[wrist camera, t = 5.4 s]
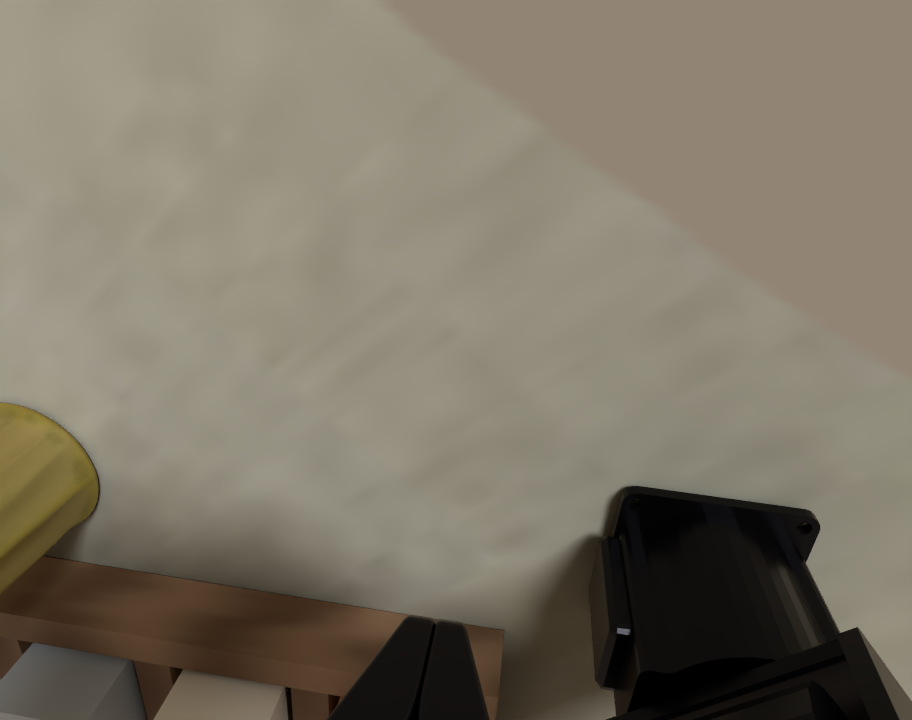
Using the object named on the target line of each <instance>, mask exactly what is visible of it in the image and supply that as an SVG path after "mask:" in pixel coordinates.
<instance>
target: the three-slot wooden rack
mask: <svg viewBox="0 0 912 720" xmlns="http://www.w3.org/2000/svg"><path fill="white" fill-rule="evenodd" d="M407 616H409V615H405V614H398V613H392V612H386V611H380V610H374V609H367V608H361V607H355V606H349V605H343V604H336V603H330V602H324V601H318V600H312V599H306V598H299V597H293V596H287V595H281V594H275V593H268V592H262V591H256V590H250V589H244V588H237V587H231V586H225V585H219V584H213V583H207V582H200V581H194V580H188V579H182V578H176V577H169V576H163V575H157V574H151V573H145V572H138V571H132V570H126V569H120V568H114V567H108V566H101V565H95V564H89V563H83V562H77V561H70V560H64V559H58V558H52V557H46V556H42V557H41V558H40V559H39V560H38V561H37V562H36V563H34V564H33V565H32V566H31V567H30V568H29V569H28V570H26V571H25V572H24V573H23V574H22V575H21V576H20V577H19V578H17V579H16V580H15V581H14V582H13V583H12V584H11V585H10V586H9V587H8V588H7V589H6V590H5V591H4V592H3V593H2V594H1V595H0V679H2V678H3V677H4V676H5V675H6V674H7V672H8V671H9V670H10V669H11V668H12V667H13V666H14V664H15V663H16V662H17V661H18V660H19V659H20V657H21V656H22V655H23V654H24V653H25V652H26V651H27V649H28V648H29V647H30V646H31V645H32V644H33V643H38V644H43V645H49V646H55V647H61V648H66V649H72V650H78V651H83V652H89V653H95V654H101V655H106V656H112V657H118V658H124V659H129V660H133V661H134V665H135V667H134V669H135V673H136V677H137V682H138V686H139V690H140V694H141V698H142V702H143V706H144V710H145V715H146V719H147V720H154V718H155V716H156V714H157V713H158V711H159V709H160V708H161V706H162V704H163V703H164V701H165V699H166V698H167V696H168V694H169V692H170V691H171V689H172V687H173V686H174V684H175V682H176V681H177V679H178V677H179V676H180V674H181V672H182V670H183V669H186V670H192V671H198V672H204V673H209V674H215V675H221V676H227V677H232V678H238V679H244V680H249V681H255V682H261V683H267V684H272V685H278V686H284V687H289V688H291V694H286V699H287V712H288V720H326V719H327V718H328V717H329V715H330V714H331V713H332V711H333V710H334V709H335V708H336V706H337V705H338V702H339V699H340V696H341V697H344V696H345V695H346V693H347V692H348V691H349V689H350V688H351V687H352V686H353V684H354V683H355V682H356V680H357V679H358V678H359V677H360V675H361V674H362V673H363V671H364V670H365V669H366V667H367V666H368V665H369V664H370V662H371V661H372V660H373V658H374V657H375V656H376V655H377V653H378V652H379V651H380V649H381V648H382V647H383V645H384V644H385V643H386V642H387V640H388V639H389V638H390V636H391V635H392V634H393V633H394V631H395V630H396V629H397V627H398V626H399V625H400V623H401V622H402V621H403V620H404V619H405V618H406V617H407ZM433 620H434V621H435V624H436V622H437V621H438V620H435V619H433ZM464 625H465V627H466V629H467V633H468V637H469V641H470V645H471V649H472V653H473V657H474V661H475V665H476V668H477V672H478V676H479V680H480V684H481V688H482V692H483V696H484V700H485V704H486V708H487V712H488V715H489V719H490V720H495V719H496V712H497V706H498V700H499V689H500V676H501V664H502V651H503V638H504V630H497V629H491V628H485V627H479V626H473V625H466V624H464Z"/></svg>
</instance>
